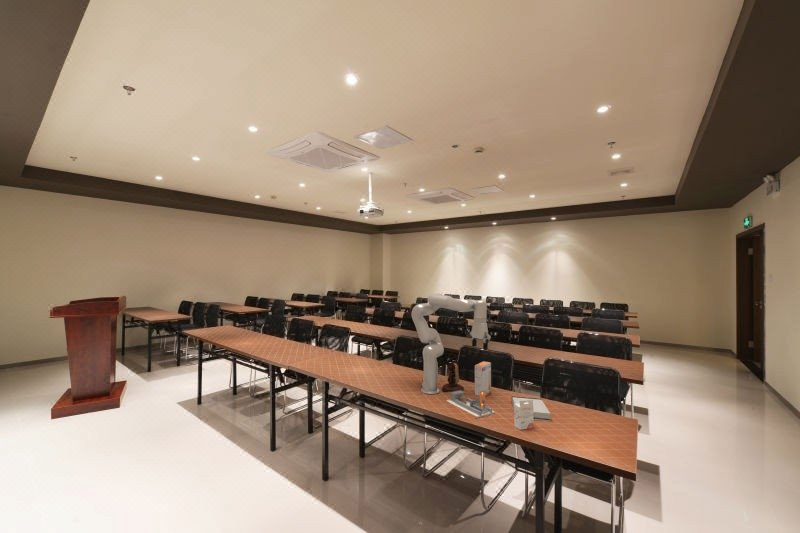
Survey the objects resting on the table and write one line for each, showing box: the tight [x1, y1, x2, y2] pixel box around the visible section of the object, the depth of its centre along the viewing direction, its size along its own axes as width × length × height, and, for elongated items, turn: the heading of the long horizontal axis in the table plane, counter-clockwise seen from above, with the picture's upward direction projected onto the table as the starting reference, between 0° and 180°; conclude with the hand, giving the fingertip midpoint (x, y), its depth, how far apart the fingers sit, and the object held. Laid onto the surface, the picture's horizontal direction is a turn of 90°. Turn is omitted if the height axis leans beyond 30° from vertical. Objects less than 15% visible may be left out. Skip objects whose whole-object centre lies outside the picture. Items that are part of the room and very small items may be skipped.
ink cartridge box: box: [513, 400, 534, 431], centre depth 177 cm, size 9×5×15 cm, turn 106°
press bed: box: [446, 390, 496, 420], centre depth 201 cm, size 27×14×6 cm, turn 31°
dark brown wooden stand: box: [441, 360, 465, 393], centre depth 233 cm, size 15×15×20 cm
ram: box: [470, 391, 489, 414], centre depth 194 cm, size 9×6×11 cm
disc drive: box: [511, 395, 551, 422], centre depth 198 cm, size 18×22×5 cm
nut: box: [460, 395, 468, 403], centre depth 206 cm, size 4×4×4 cm
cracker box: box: [474, 360, 492, 398], centre depth 225 cm, size 14×6×21 cm, turn 142°
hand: (479, 347), depth 211 cm, fingers open, 9 cm apart
